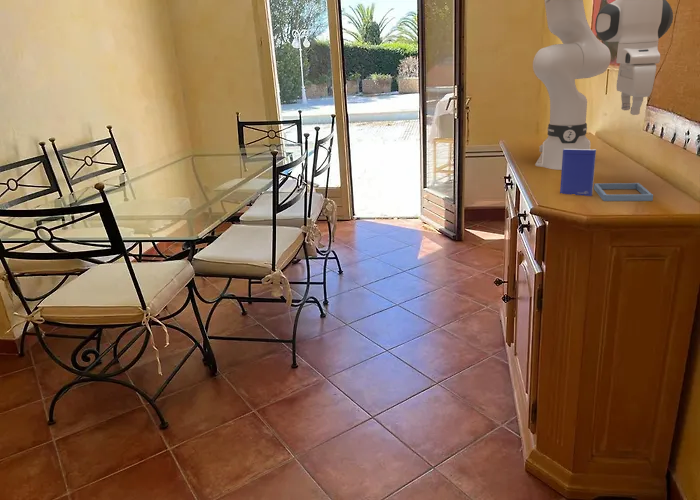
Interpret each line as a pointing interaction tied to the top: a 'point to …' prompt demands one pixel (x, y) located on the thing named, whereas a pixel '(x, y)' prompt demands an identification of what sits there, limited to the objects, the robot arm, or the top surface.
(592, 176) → the hard drive
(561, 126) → the robot arm
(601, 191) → the frame
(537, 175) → the top surface
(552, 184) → the top surface
